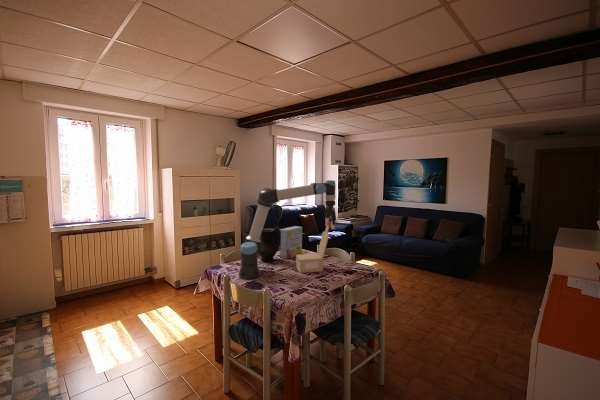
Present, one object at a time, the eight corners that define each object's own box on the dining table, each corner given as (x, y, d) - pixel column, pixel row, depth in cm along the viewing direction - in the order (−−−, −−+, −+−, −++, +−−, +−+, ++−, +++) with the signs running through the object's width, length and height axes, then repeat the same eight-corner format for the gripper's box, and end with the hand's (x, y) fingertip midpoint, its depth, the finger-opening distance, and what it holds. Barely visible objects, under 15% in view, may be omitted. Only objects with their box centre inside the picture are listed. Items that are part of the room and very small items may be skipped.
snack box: (287, 259, 246) (287, 230, 244) (280, 257, 251) (279, 229, 249) (302, 254, 263) (302, 226, 261) (295, 252, 268) (295, 225, 266)
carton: (299, 272, 213) (299, 259, 212) (295, 267, 226) (295, 254, 226) (323, 271, 217) (323, 258, 216) (317, 265, 231) (317, 253, 230)
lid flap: (330, 222, 216) (334, 223, 216) (324, 219, 228) (328, 220, 229) (320, 256, 216) (325, 257, 217) (315, 252, 229) (320, 252, 230)
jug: (252, 263, 237) (251, 227, 234) (261, 256, 254) (261, 223, 252) (276, 265, 231) (275, 228, 228) (284, 258, 248) (283, 224, 246)
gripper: (340, 201, 210) (340, 230, 212) (329, 198, 234) (329, 224, 236) (331, 201, 208) (330, 230, 210) (320, 199, 232) (320, 224, 234)
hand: (330, 227), depth 223 cm, fingers open, 13 cm apart
